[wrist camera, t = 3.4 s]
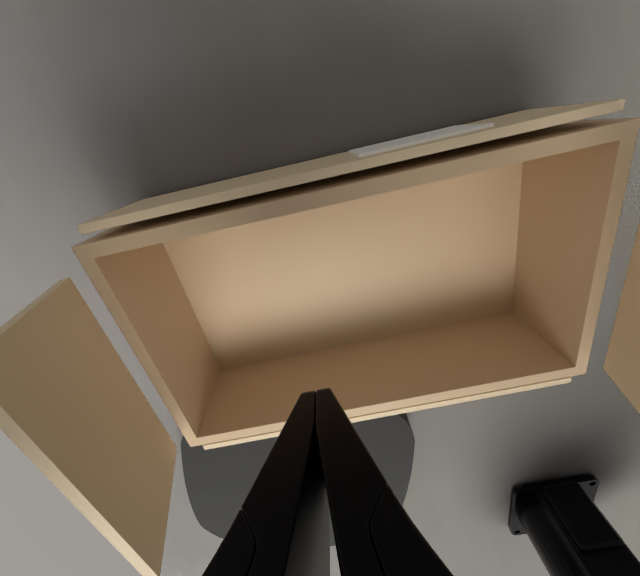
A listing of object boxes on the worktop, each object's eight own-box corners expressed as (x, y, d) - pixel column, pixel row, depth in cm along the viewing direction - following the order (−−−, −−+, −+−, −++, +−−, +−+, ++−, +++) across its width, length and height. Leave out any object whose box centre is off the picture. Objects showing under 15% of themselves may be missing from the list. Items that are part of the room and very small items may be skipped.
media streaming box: (211, 513, 26) (201, 557, 23) (184, 378, 20) (164, 416, 17) (385, 508, 27) (394, 550, 24) (412, 376, 20) (429, 413, 18)
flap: (176, 447, 14) (159, 578, 9) (169, 450, 14) (149, 582, 9) (69, 277, 10) (-38, 366, 6) (59, 280, 10) (-56, 371, 6)
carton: (515, 322, 18) (583, 383, 14) (221, 380, 19) (195, 455, 15) (532, 105, 13) (647, 90, 9) (135, 197, 14) (58, 227, 10)
